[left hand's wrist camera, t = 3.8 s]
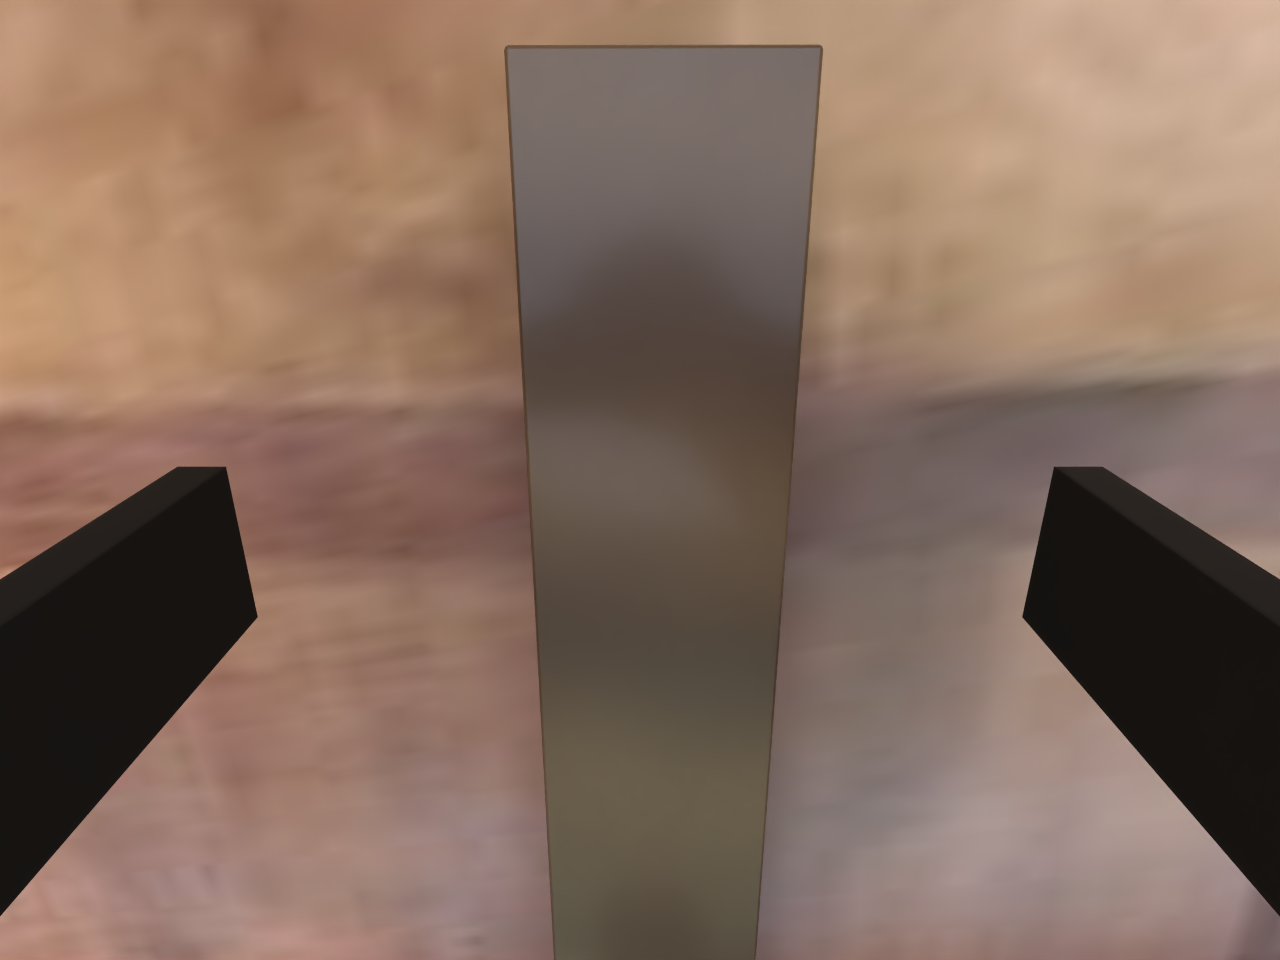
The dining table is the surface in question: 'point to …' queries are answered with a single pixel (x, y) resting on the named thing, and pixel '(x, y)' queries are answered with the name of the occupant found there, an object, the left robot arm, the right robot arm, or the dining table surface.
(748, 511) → the wooden plank
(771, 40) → the dining table surface
